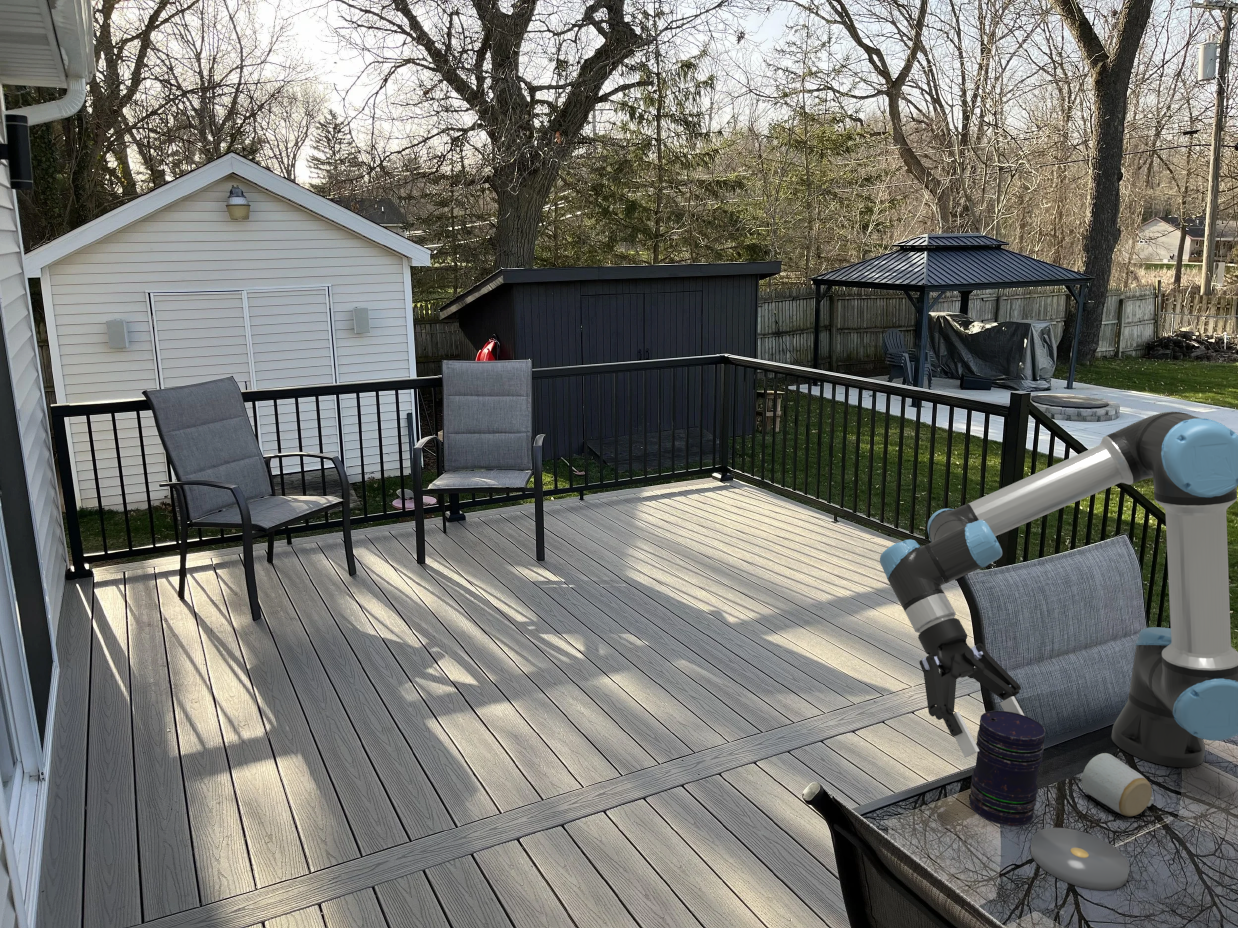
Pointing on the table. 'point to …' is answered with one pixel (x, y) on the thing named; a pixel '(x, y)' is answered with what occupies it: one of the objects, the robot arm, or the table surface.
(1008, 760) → the navy cylinder
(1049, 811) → the table surface
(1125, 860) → the grey flat round disc
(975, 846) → the table surface
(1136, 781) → the ceramic mug
